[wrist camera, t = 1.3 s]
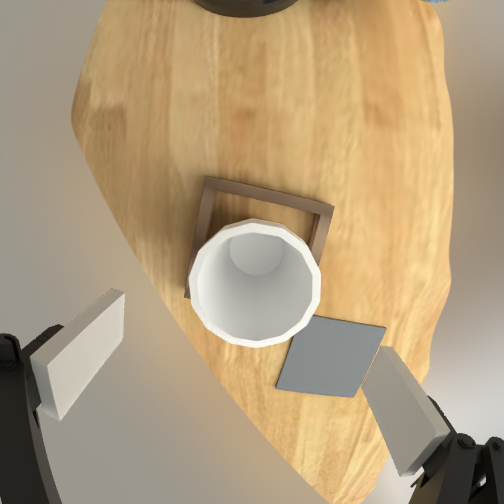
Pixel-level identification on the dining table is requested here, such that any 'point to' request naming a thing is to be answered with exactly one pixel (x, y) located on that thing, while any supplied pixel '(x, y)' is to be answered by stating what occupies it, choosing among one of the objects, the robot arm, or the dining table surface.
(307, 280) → the foam cup
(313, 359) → the mat
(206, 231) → the frame
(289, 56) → the dining table surface
